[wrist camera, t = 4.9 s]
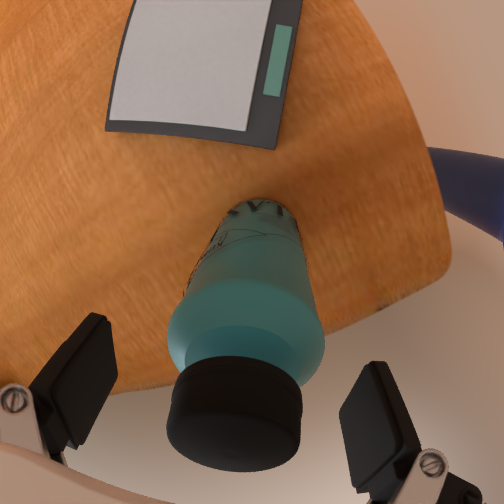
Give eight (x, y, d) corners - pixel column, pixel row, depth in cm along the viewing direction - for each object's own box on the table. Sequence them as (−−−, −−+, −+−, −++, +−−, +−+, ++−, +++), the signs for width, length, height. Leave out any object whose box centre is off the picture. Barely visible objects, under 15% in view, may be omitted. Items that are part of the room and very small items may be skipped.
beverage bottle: (308, 207, 24) (402, 401, 6) (282, 274, 27) (292, 498, 8) (234, 182, 24) (117, 332, 5) (212, 253, 26) (122, 459, 8)
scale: (301, 3, 17) (305, -12, 15) (274, 149, 23) (275, 150, 20) (147, -4, 17) (135, -17, 14) (117, 131, 22) (100, 131, 20)
